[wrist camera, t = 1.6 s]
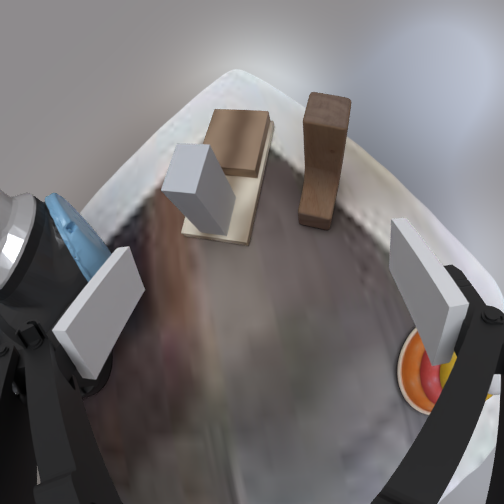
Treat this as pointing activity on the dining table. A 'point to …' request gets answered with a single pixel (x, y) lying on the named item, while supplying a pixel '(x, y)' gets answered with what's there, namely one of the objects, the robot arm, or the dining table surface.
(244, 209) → the base board
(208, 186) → the grey pillar
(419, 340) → the stacking toy
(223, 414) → the dining table surface
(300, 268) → the dining table surface
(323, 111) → the wooden block
